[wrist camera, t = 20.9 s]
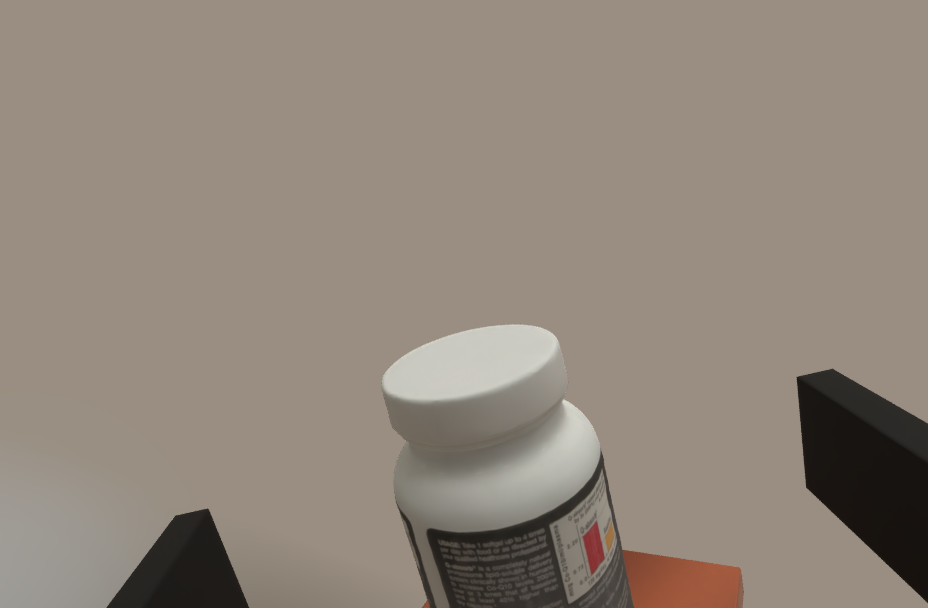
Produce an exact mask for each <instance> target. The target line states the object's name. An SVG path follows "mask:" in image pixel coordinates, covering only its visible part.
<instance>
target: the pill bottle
mask: <svg viewBox="0 0 928 608" xmlns="http://www.w3.org/2000/svg"><path fill="white" fill-rule="evenodd" d="M567 385H568V377H567V372H566V368H565V363H564V359H563V356H562V352H561V349H560V345H559V342H558V340H557V338H556V337H555V336H554V334H552V333H551V332H550V331H547V330H546V329H543V328H539V327H537V326H530V325H500V326H491V327H483V328H477V329H472V330H468V331H463V332H459V333H456V334H453V335H450V336H446V337H444V338H441V339H438V340H435V341H433V342H430V343H428V344H425V345H423V346H421V347H419V348H417V349H415V350H413V351H411V352H409V353H408V354H406V355H405V356H403V357H402V358H400V359H399V360H398V361H396V362H395V363H394V364H393V365H392V366H391V367H390V368H389V369H388V370H387V371H386V373H385V374H384V376H383V378H382V391H383V396H384V399H385V403H386V406H387V410H388V414H389V418H390V422H391V425H392V427H393V429H394V430H395V431H396V432H397V433H398V434H399V435H401V436H402V437H403V438H404V439H405V440H406V441H407V442H406V443H405V445H404V447H403V449H402V451H401V452H400V455H399V457H398V460H397V463H396V466H395V471H394V493H395V499H396V503H397V506H398V508H399V511H400V515H401V518H402V521H403V524H404V527H405V530H406V534H407V536H408V539H409V543H410V545H411V549H412V552H413V555H414V558H415V561H416V564H417V568H418V571H419V574H420V576H421V580H422V583H423V587H424V590H425V593H426V596H427V599H428V603H429V606H430V608H634V603H633V599H632V595H631V590H630V585H629V581H628V576H627V572H626V566H625V562H624V557H623V551H622V546H621V541H620V536H619V532H618V528H617V523H616V519H615V514H614V510H613V505H612V500H611V495H610V492H609V486H608V480H607V476H606V470H605V466H604V459H603V455H602V452H601V448H600V444H599V441H598V438H597V435H596V433H595V430H594V429H593V427H592V425H591V424H590V422H589V420H588V419H587V418H586V417H585V415H584V414H583V413H582V412H581V411H580V410H579V409H577V408H576V407H575V406H574V405H572V404H571V403H569V402H568V401H566V400H564V396H565V392H566V390H567Z"/></svg>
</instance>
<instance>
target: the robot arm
mask: <svg viewBox="0 0 928 608" xmlns="http://www.w3.org/2000/svg"><path fill="white" fill-rule="evenodd" d="M797 386H798V398H799V409H800V421H801V433H802V444H803V456H804V466H805V479H806V488H807V489H809V491H811V492H812V493H813V494H814V495H815V496H816V497H817V498H818V499H819V500H820V501H821V502H822V503H823V504H824V505H825V506H826V507H827V508H828V509H829V510H831V511H832V512H833V513H834V514H835V515H836V516H837V517H838V518H839V519H840V520H841V521H842V522H843V523H844V524H845V525H846V526H847V527H848V528H850V529H851V530H852V531H853V532H854V533H855V534H856V535H857V536H858V537H859V538H860V539H861V540H862V541H863V542H864V543H865V544H866V545H867V546H869V547H870V548H871V549H872V550H873V551H874V552H875V553H876V554H877V555H878V556H879V557H880V558H881V559H882V560H883V561H884V562H885V563H886V564H887V565H889V567H891V568H892V569H893V570H894V571H895V572H896V573H897V574H898V575H899V576H900V577H901V578H902V579H903V580H904V581H905V582H906V583H907V584H908V585H909V586H911V587H912V588H913V589H914V590H915V591H916V592H917V593H918V594H919V595H920V596H921V597H922V598H923V599H924V600H925V601H926V602H927V603H928V423H926V422H924V421H922V420H921V419H918V418H917V417H915V416H914V415H912V414H910V413H908V412H907V411H905V410H903V409H901V408H900V407H898V406H896V405H895V404H892V403H891V402H889V401H887V400H886V399H884V398H882V397H881V396H879V395H877V394H875V393H874V392H872V391H870V390H868V389H867V388H865V387H863V386H861V385H859V384H858V383H856V382H854V381H853V380H851V379H849V378H847V377H846V376H844V375H842V374H841V373H839V372H837V371H835V370H834V369H830V370H825V371H821V372H817V373H812V374H808V375H803V376H799V377H797ZM107 608H249V607H248V604H247V602H246V599H245V597H244V594H243V592H242V590H241V587H240V585H239V582H238V580H237V577H236V575H235V572H234V570H233V567H232V565H231V563H230V560H229V558H228V555H227V553H226V550H225V548H224V546H223V543H222V541H221V538H220V536H219V533H218V531H217V529H216V526H215V524H214V521H213V519H212V516H211V514H210V512H209V509H204V510H199V511H195V512H190V513H186V514H181V515H177V516H175V517H174V518H173V520H172V521H171V522H170V524H169V525H168V526H167V528H166V529H165V530H164V532H163V533H162V534H161V536H160V537H159V538H158V540H157V541H156V543H155V544H154V545H153V546H152V548H151V549H150V550H149V552H148V553H147V554H146V556H145V557H144V558H143V560H142V561H141V563H140V564H139V565H138V566H137V568H136V569H135V570H134V572H133V573H132V574H131V576H130V577H129V578H128V580H127V581H126V582H125V584H124V585H123V587H122V588H121V589H120V590H119V592H118V593H117V594H116V596H115V597H114V598H113V600H112V601H111V602H110V604H109V605H108V606H107Z"/></svg>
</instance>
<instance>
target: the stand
mask: <svg viewBox="0 0 928 608" xmlns="http://www.w3.org/2000/svg"><path fill="white" fill-rule="evenodd" d="M622 551H623V557H624V562H625V566H626V572H627V576H628V581H629V585H630V590H631V595H632V599H633V603H634V608H742V605H743V593H744V591H743V583H742V575H741V569H740V568H739V567H732V566H725V565H719V564H713V563H705V562H699V561H693V560H686V559H680V558H673V557H666V556H660V555H653V554H647V553H640V552H633V551H627V550H622ZM422 608H430V606H429V603H428V600H427V602H426V603H425V604H424V606H423V607H422Z"/></svg>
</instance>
